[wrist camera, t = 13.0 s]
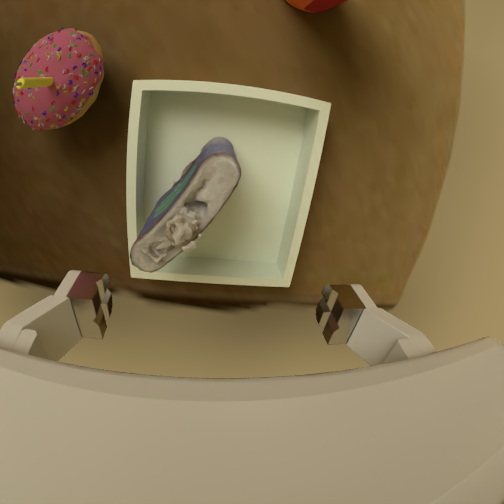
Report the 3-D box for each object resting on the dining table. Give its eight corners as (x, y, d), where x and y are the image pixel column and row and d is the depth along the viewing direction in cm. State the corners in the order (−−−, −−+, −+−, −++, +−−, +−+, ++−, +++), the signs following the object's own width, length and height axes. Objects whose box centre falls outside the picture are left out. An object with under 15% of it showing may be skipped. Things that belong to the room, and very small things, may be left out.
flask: (217, 129, 21) (218, 149, 12) (243, 152, 22) (264, 190, 13) (148, 209, 24) (112, 278, 15) (173, 228, 25) (153, 305, 16)
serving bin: (140, 255, 27) (131, 277, 24) (146, 83, 19) (133, 80, 16) (280, 264, 30) (289, 287, 26) (314, 102, 22) (331, 103, 18)
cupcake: (138, 50, 17) (77, 13, 7) (99, 136, 21) (21, 168, 10) (65, 32, 15) (-14, 10, 4) (32, 113, 18) (-54, 135, 8)
